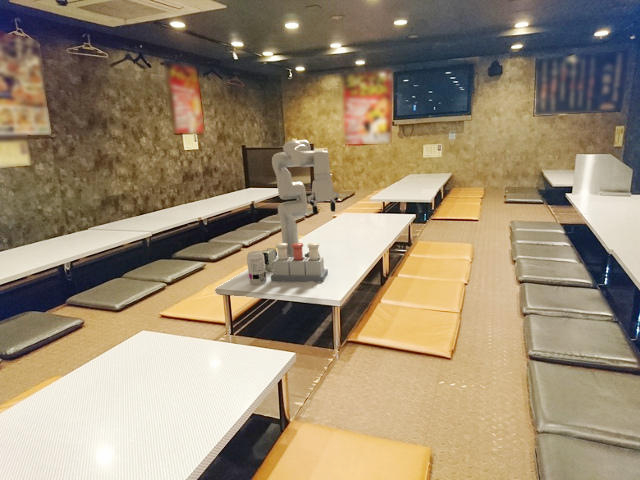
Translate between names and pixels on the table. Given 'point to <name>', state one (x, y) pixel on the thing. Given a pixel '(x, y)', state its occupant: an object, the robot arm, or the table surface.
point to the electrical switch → (309, 255)
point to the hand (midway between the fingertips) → (324, 212)
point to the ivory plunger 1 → (282, 251)
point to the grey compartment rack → (299, 270)
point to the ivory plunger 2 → (313, 251)
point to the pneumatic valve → (269, 258)
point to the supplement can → (256, 268)
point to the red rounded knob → (297, 251)
